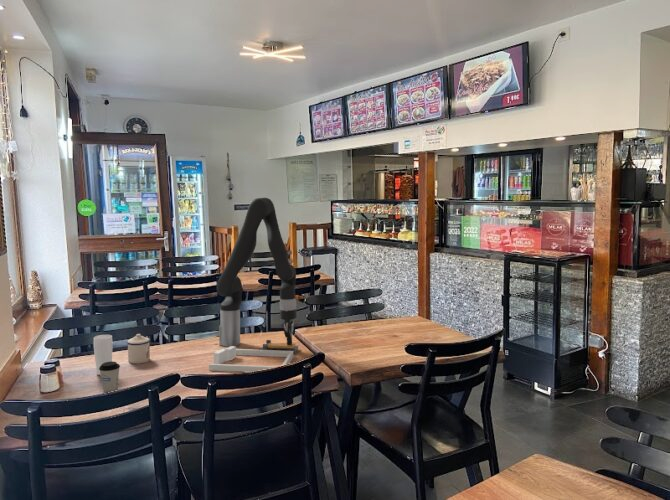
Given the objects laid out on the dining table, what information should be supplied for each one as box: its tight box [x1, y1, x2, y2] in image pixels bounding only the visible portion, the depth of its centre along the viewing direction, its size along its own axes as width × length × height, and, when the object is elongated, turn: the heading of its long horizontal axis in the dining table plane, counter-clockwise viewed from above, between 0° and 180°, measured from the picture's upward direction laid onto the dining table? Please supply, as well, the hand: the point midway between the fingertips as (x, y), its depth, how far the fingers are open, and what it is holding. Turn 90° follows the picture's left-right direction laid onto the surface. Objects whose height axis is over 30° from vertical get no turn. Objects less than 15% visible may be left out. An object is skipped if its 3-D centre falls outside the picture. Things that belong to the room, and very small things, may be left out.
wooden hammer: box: [267, 342, 297, 348], centre depth 224 cm, size 14×5×1 cm, turn 84°
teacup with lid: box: [127, 333, 151, 365], centre depth 209 cm, size 12×9×12 cm
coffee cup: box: [99, 360, 121, 394], centre depth 175 cm, size 7×7×10 cm
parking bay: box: [208, 348, 294, 372], centre depth 207 cm, size 31×22×2 cm
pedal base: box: [260, 339, 299, 356], centre depth 224 cm, size 16×8×4 cm, turn 84°
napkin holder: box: [213, 346, 237, 364], centre depth 210 cm, size 15×11×6 cm
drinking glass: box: [93, 334, 114, 376], centre depth 192 cm, size 7×7×15 cm
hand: (289, 345), depth 223 cm, fingers closed
